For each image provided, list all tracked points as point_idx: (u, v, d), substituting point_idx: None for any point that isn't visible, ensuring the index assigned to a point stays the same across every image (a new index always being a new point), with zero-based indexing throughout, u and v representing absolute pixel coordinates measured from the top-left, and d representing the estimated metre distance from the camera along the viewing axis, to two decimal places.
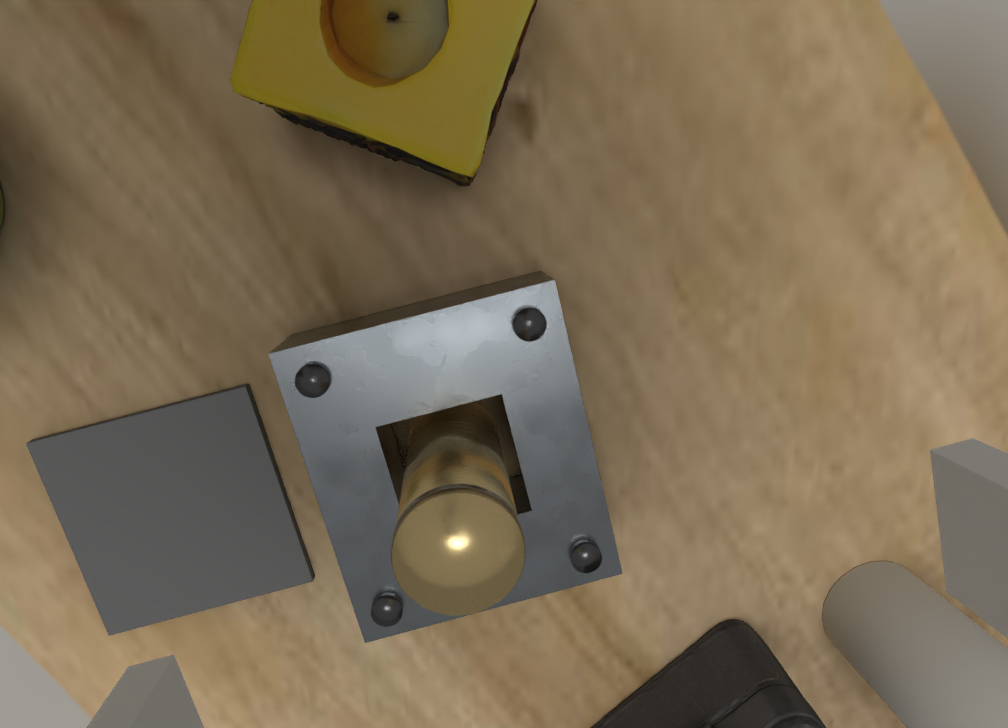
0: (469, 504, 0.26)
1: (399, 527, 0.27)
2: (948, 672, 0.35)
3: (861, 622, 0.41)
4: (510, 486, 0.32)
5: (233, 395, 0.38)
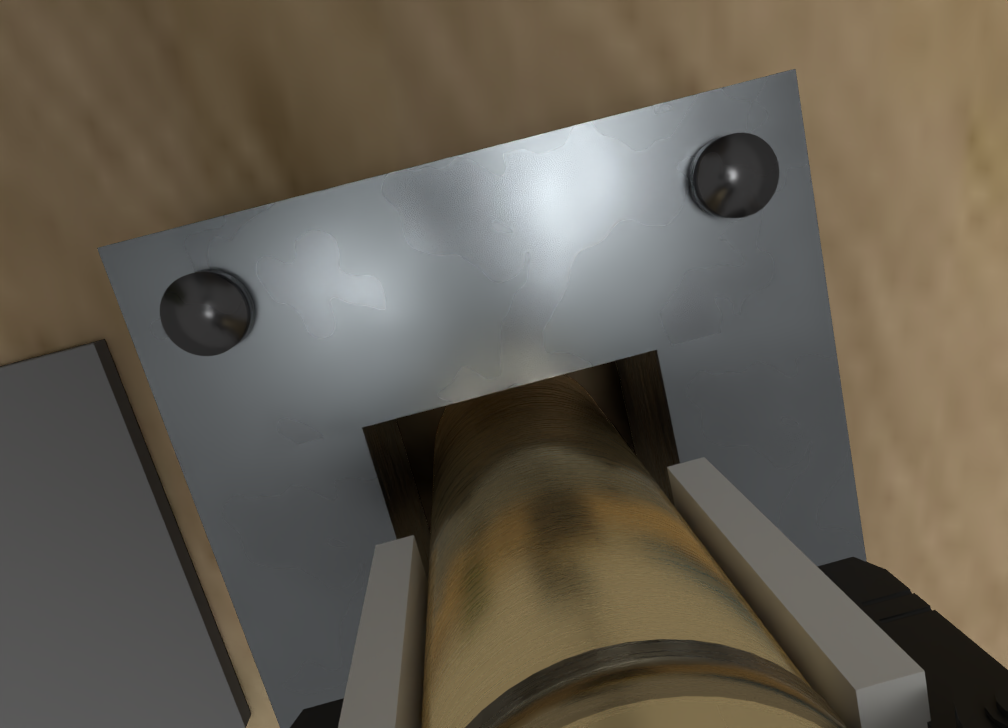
0: None
1: None
2: None
3: None
4: None
5: (69, 362, 0.18)
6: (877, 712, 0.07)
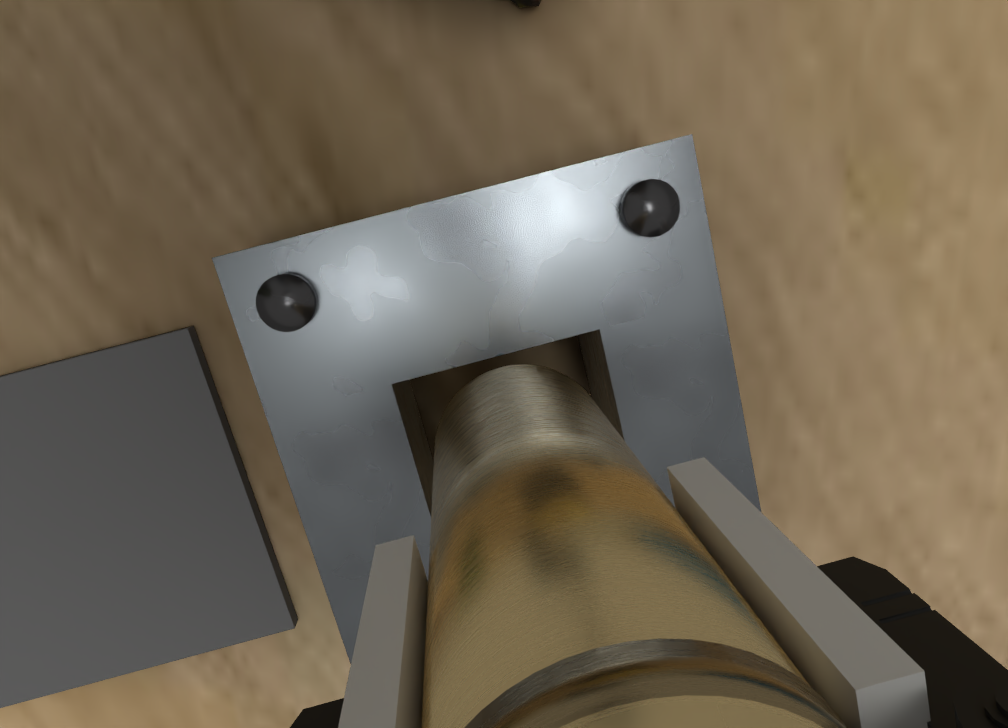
0: None
1: None
2: None
3: None
4: None
5: (169, 342, 0.25)
6: (877, 711, 0.07)
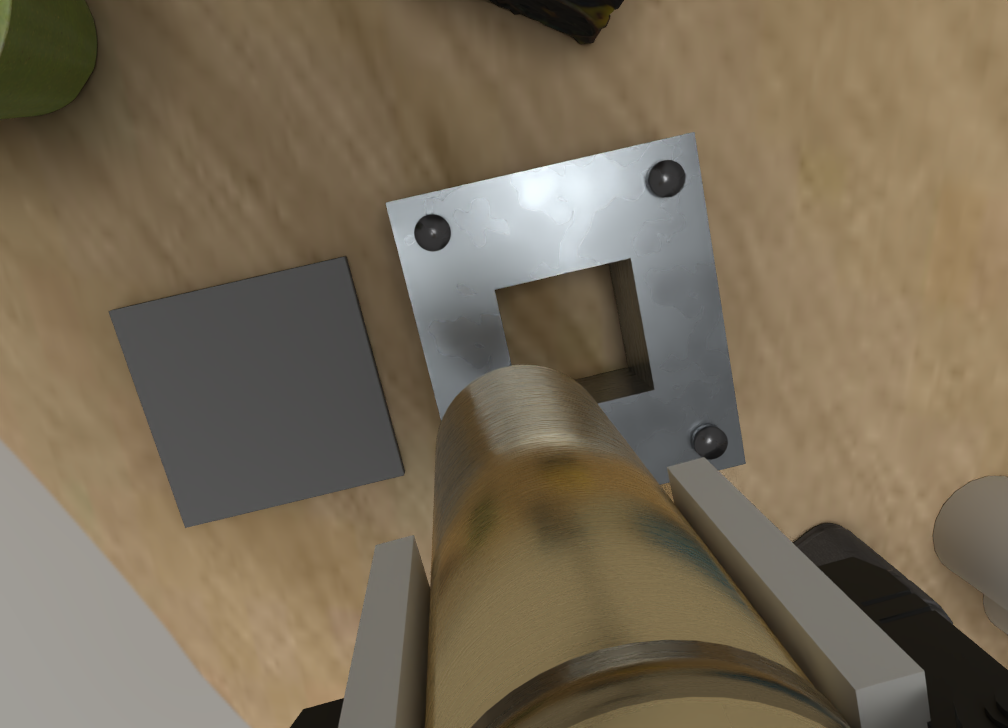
0: None
1: None
2: None
3: (986, 532, 0.39)
4: None
5: (331, 266, 0.36)
6: (877, 711, 0.07)
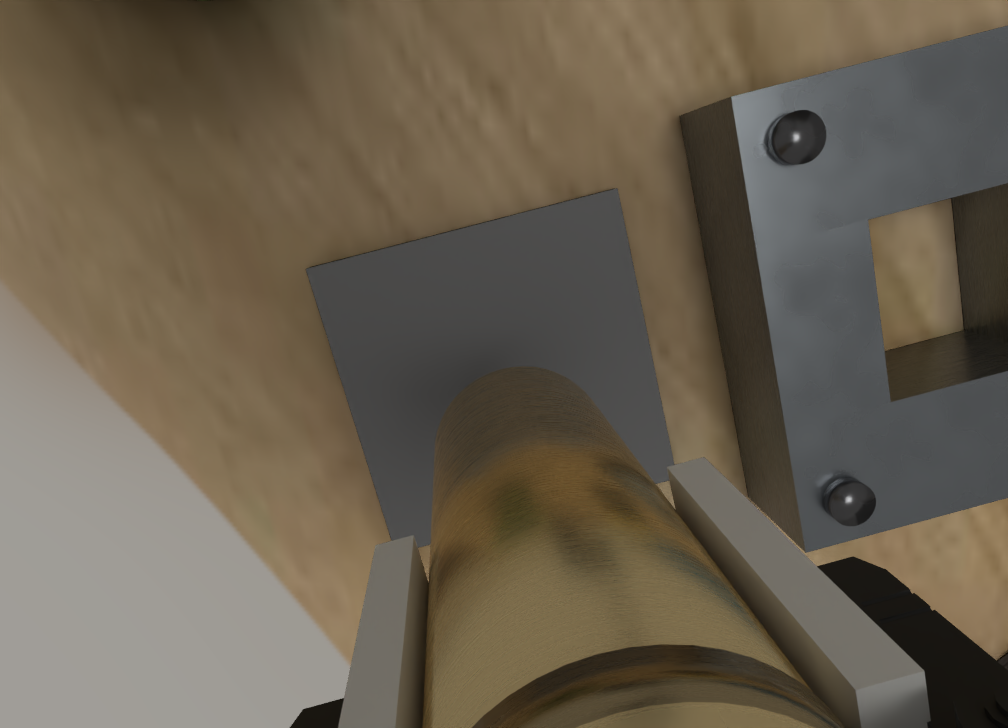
0: None
1: None
2: None
3: None
4: None
5: (599, 202, 0.27)
6: (877, 712, 0.07)
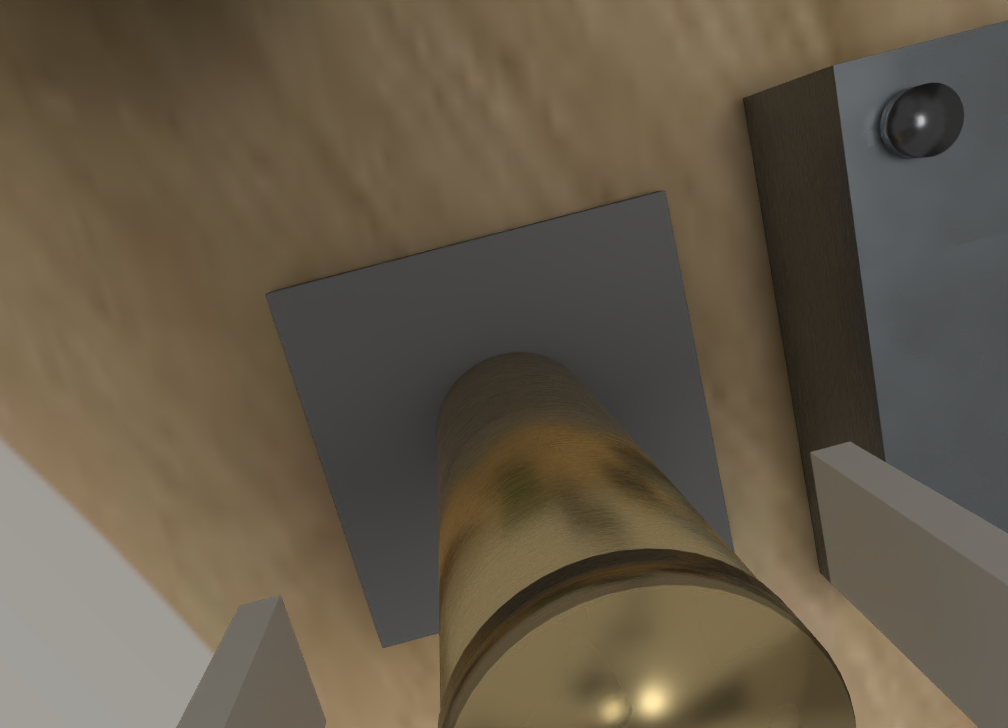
0: (700, 623, 0.08)
1: (464, 698, 0.08)
2: None
3: None
4: None
5: (642, 207, 0.21)
6: None
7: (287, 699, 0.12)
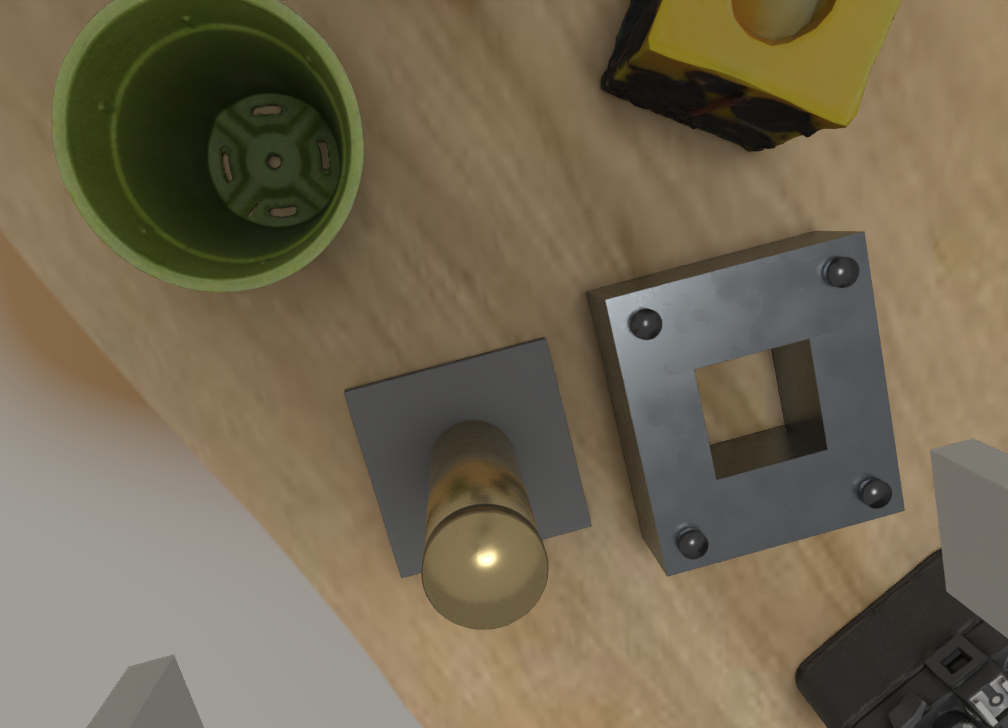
0: (496, 523, 0.28)
1: (429, 544, 0.28)
2: None
3: None
4: None
5: (534, 347, 0.41)
6: None
7: None
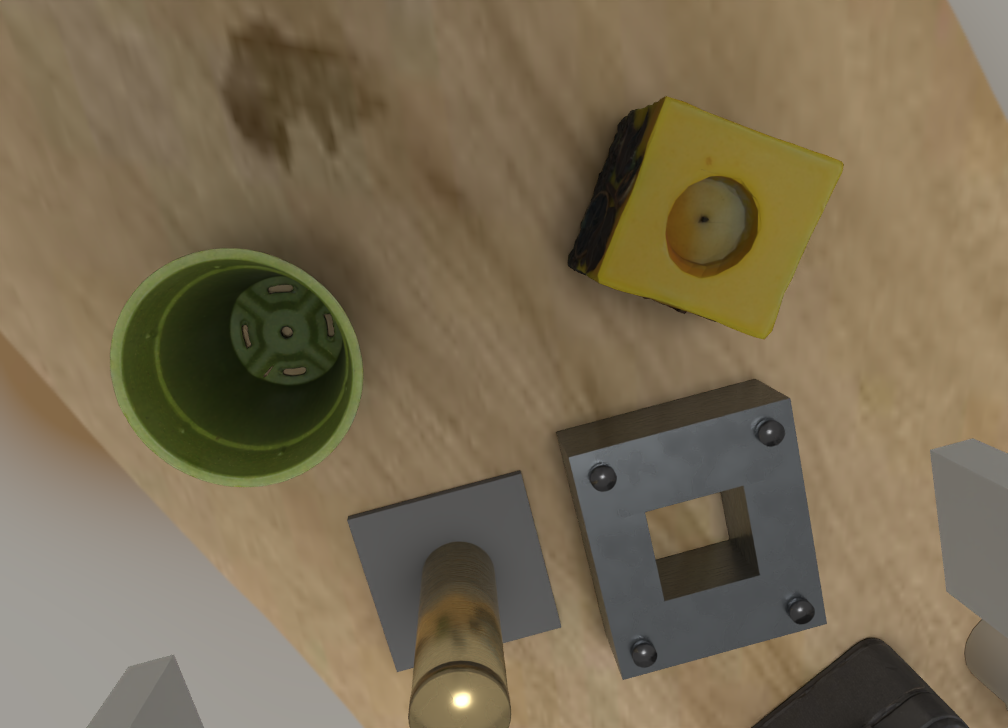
0: (468, 680, 0.35)
1: (414, 695, 0.35)
2: None
3: (1007, 659, 0.51)
4: (501, 643, 0.40)
5: (511, 480, 0.48)
6: None
7: None
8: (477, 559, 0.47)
